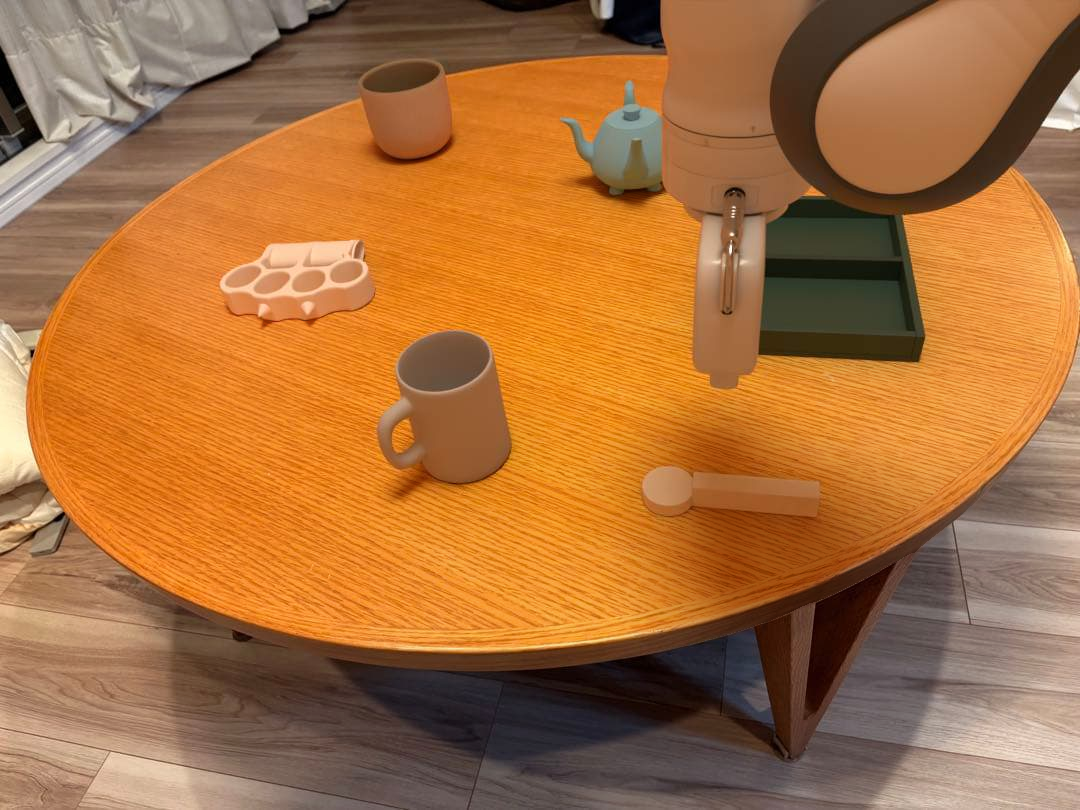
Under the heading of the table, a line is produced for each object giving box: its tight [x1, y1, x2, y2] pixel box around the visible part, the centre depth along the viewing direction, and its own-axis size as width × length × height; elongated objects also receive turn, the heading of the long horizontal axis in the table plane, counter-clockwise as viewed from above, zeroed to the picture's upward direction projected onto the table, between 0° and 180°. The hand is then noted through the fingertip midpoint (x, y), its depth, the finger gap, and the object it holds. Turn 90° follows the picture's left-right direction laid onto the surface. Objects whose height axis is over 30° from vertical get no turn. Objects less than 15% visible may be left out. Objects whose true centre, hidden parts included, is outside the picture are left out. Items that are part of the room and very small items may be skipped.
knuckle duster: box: [219, 238, 376, 322], centre depth 98 cm, size 3×18×15 cm
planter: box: [357, 58, 453, 160], centre depth 120 cm, size 12×12×11 cm
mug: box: [376, 329, 512, 484], centre depth 72 cm, size 12×8×11 cm
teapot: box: [558, 80, 663, 196], centre depth 106 cm, size 13×13×10 cm
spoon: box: [641, 465, 821, 518], centre depth 68 cm, size 14×4×2 cm, turn 78°
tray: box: [758, 195, 926, 363], centre depth 88 cm, size 20×26×3 cm
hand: (727, 336), depth 57 cm, fingers open, 8 cm apart
